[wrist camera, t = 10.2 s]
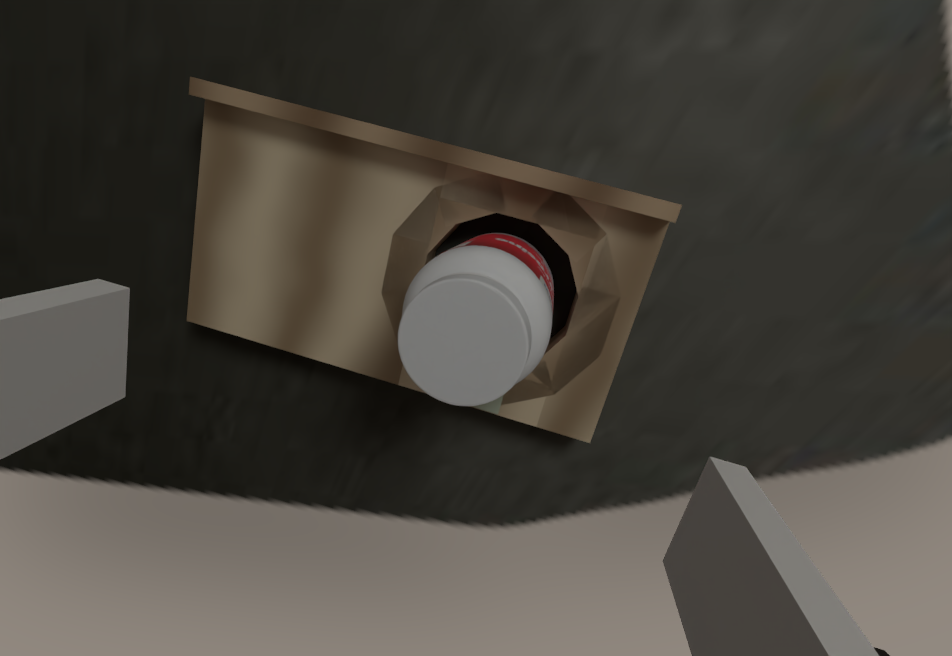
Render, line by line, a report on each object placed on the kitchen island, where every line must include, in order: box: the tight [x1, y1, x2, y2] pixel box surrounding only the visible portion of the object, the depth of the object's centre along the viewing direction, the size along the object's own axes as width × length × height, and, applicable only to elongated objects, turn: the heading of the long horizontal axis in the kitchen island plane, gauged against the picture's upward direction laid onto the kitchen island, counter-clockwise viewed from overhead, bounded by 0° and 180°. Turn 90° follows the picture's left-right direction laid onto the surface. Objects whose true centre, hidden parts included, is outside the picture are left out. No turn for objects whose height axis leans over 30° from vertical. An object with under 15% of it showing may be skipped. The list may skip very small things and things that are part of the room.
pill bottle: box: [398, 233, 554, 406], centre depth 23 cm, size 6×6×11 cm
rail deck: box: [187, 77, 682, 443], centre depth 27 cm, size 24×13×3 cm, turn 76°
